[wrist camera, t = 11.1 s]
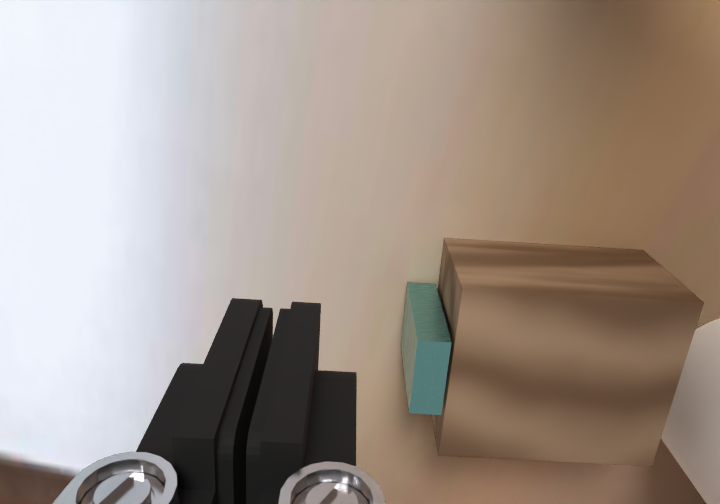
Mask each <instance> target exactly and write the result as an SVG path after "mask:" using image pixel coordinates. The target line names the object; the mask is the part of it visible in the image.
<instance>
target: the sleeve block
mask: <svg viewBox="0 0 720 504" xmlns="http://www.w3.org/2000/svg"><path fill="white" fill-rule="evenodd" d="M438 295H439V298H440V302H441V306H442V309H443V313H445V316H446V320H447V323H448V327H449V331H450V334H451V335H450V339H451V342H452V343H451V350H450V357H449V364H448V371H447V378H446V385H445V392H444V399H443V406H442V413H441V415H432V421H433V427H434V432H435V438H436V444H437V449H438V455H439V456H458V457H477V458H497V459H516V460H536V461H555V462H575V463H595V464H614V465H634V466H652V465H653V462H654V459H655V456H656V452H657V449H658V446H659V443H660V440H661V437H662V433H663V430H664V427H665V424H666V421H667V418H668V414H669V411H670V408H671V405H672V402H673V399H674V395H675V392H676V389H677V386H678V383H679V380H680V377H681V373H682V370H683V367H684V364H685V361H686V358H687V354H688V351H689V348H690V345H691V342H692V339H693V335H694V332H695V329H696V326H697V323H698V320H699V316H700V313H701V310H702V307H703V304H704V302H703V301H702V300H700V299H699V298H698V297H697V296H696V295H695V294H694V293H692V292H691V291H690V290H689V289H688V288H687V287H685V286H684V285H683V284H682V283H681V282H680V281H678V280H677V279H676V278H675V277H674V276H673V275H671V274H670V273H669V272H668V271H667V270H666V269H665V268H663V267H662V266H661V265H660V264H659V263H658V262H656V261H655V260H654V259H653V258H652V257H651V256H649V255H648V254H647V253H646V252H645V251H644V250H633V249H616V248H600V247H583V246H567V245H550V244H534V243H517V242H501V241H484V240H467V239H451V238H444V244H443V252H442V260H441V268H440V276H439V284H438Z"/></svg>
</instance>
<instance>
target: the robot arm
mask: <svg viewBox="0 0 720 504" xmlns="http://www.w3.org/2000/svg"><path fill="white" fill-rule="evenodd" d="M320 313H321V303H305V302H292V304H291V309H280V312H279V316H278V320H277V324H276V328H275V331H274V335H273V310H272V308H263V304H262V300H252V299H235V298H232V300H231V302H230V304H229V306H228V309H227V311H226V313H225V316H224V318H223V320H222V322H221V325H220V327H219V329H218V332H217V334H216V336H215V339H214V341H213V343H212V346H211V348H210V350H209V352H208V355H207V357H206V359H205V362H204V364H191V363H182V364H180V366H179V367H178V369H177V371H176V373H175V375H174V377H173V379H172V381H171V383H170V385H169V387H168V389H167V391H166V393H165V395H164V397H163V399H162V401H161V403H160V405H159V407H158V409H157V411H156V413H155V415H154V417H153V419H152V421H151V423H150V425H149V427H148V429H147V431H146V433H145V435H144V437H143V439H142V441H141V443H140V445H139V447H138V449H137V451H136V452H127V453H120V454H114V455H112V456H109V457H106V458H103V459H101V460H98V461H96V462H95V463H93V464H91V465H90V466H88V467H86V468H85V469H83V470H82V471H81V472H80V473H79V474H78V475H77V476H76V477H75V478H74V479H73V480H72V481H71V482H70V483H69V484H68V486H67V487H66V488H65V489H64V490H63V492H62V493H61V494H60V495H59V496H58V498H57V499H56V500H55V501H54V503H53V504H386V502H385V498H384V495H383V493H382V490H381V488H380V486H379V484H378V483H377V482H376V481H375V480H374V479H373V477H372V476H371V475H370V474H368V473H367V472H365V471H363V470H362V469H360V468H358V467H356V372H338V371H319V370H318V358H319V335H320Z"/></svg>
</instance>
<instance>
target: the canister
mask: <svg viewBox="0 0 720 504" xmlns="http://www.w3.org/2000/svg"><path fill="white" fill-rule="evenodd" d="M661 439H662V441H663V442H664V444H665V445H666V446H667V448H668V449H669V451H670V452H671V454H672V455H673V457H674V458H675V459H676V461H677V462H678V464H679V465H680V467H681V468H682V469H683V471H684V472H685V474H686V475H687V477H688V478H689V479H690V481H691V482H692V484H693V485H694V487H695V488H696V490H697V491H698V492H699V494H700V495H701V497H702V498H703V500H704V501H705V502H706V504H720V318H719V319H716V320H713V321H711V322H709V323H707V324H705V325H703V326H701V327H699V328H697V329H695V332H694V335H693V339H692V342H691V345H690V348H689V351H688V354H687V358H686V361H685V364H684V367H683V370H682V373H681V377H680V380H679V383H678V386H677V389H676V392H675V395H674V399H673V402H672V405H671V408H670V411H669V414H668V418H667V421H666V424H665V427H664V430H663V433H662V437H661Z"/></svg>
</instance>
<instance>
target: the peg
mask: <svg viewBox="0 0 720 504" xmlns="http://www.w3.org/2000/svg"><path fill="white" fill-rule="evenodd" d="M450 335H451V334H450V331H449V327H448V323H447V320H446V316H445V313H443V309H442V306H441V302H440V298H439V295H438V291H437V288H436V284H427V283H410V282H407V292H406V301H405V311H404V321H403V330H402V340H401V351H402V359H403V367H404V375H405V384H406V392H407V400H408V408H409V413H411V414H430V415H441V413H442V406H443V399H444V392H445V385H446V378H447V371H448V364H449V357H450V350H451V343H452V342H451V339H450Z"/></svg>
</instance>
